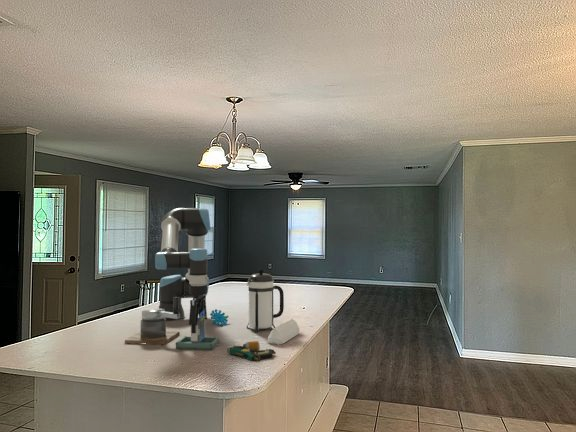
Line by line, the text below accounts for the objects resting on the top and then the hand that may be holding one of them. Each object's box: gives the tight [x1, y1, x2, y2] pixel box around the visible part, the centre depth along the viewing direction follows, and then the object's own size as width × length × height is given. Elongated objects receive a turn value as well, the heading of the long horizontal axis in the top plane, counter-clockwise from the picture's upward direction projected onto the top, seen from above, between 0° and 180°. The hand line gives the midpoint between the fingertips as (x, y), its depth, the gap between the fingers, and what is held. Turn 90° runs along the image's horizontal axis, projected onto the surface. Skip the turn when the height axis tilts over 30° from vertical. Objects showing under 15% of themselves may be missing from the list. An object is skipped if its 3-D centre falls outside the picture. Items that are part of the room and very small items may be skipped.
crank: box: [141, 297, 180, 322], centre depth 194 cm, size 20×10×11 cm, turn 60°
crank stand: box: [124, 319, 181, 345], centre depth 197 cm, size 18×18×8 cm
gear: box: [209, 309, 229, 327], centre depth 226 cm, size 11×6×10 cm
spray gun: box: [227, 340, 276, 362], centre depth 172 cm, size 4×17×15 cm
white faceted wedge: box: [267, 318, 300, 345], centre depth 197 cm, size 7×7×24 cm
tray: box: [175, 336, 220, 351], centre depth 185 cm, size 11×16×2 cm
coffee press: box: [246, 268, 285, 333], centre depth 216 cm, size 17×16×30 cm
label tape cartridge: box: [191, 310, 206, 343], centre depth 185 cm, size 9×4×12 cm, turn 178°
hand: (198, 337), depth 185 cm, fingers closed on label tape cartridge, 9 cm apart
